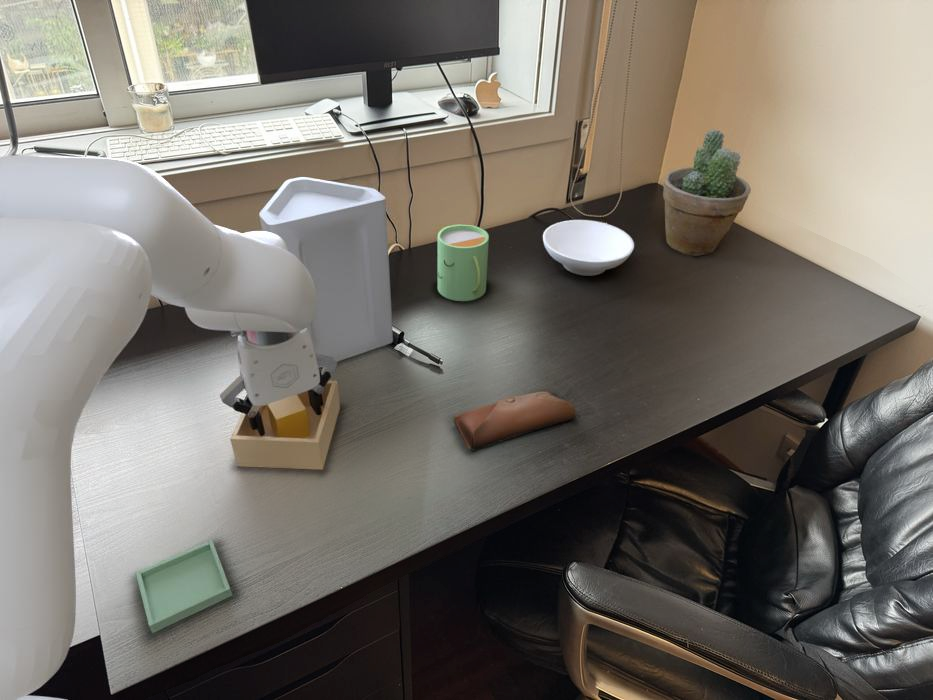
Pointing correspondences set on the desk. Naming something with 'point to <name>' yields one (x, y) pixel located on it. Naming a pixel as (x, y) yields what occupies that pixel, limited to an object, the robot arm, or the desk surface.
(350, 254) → the white triangular prism tub
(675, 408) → the desk surface
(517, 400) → the sunglasses case
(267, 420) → the sand bin
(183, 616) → the green tray
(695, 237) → the potted plant
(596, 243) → the bowl
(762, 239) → the desk surface
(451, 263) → the mug
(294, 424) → the mustard box
